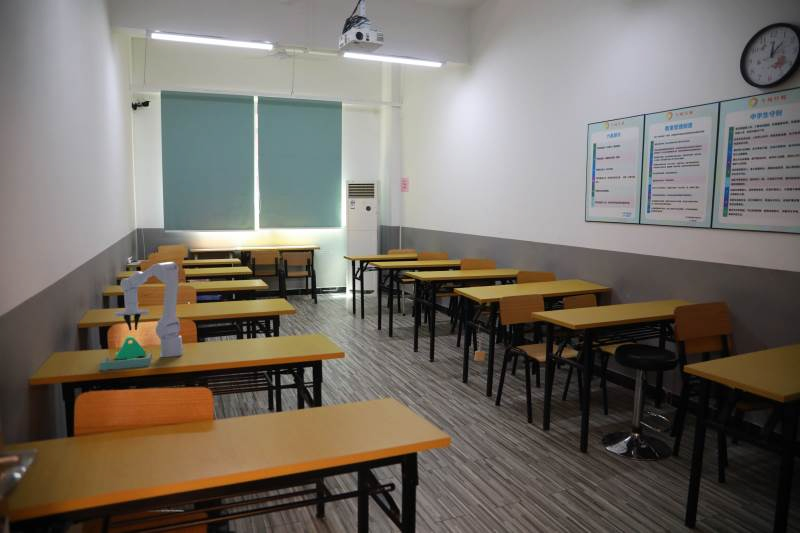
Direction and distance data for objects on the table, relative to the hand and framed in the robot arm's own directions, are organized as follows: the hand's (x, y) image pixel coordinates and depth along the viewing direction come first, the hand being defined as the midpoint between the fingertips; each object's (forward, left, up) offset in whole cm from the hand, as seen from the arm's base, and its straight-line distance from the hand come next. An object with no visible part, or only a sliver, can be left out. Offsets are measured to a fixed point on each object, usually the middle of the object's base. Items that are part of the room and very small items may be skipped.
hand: (133, 329), depth 263 cm
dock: (0, +25, -10) cm, 27 cm away
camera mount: (0, +13, -11) cm, 17 cm away
